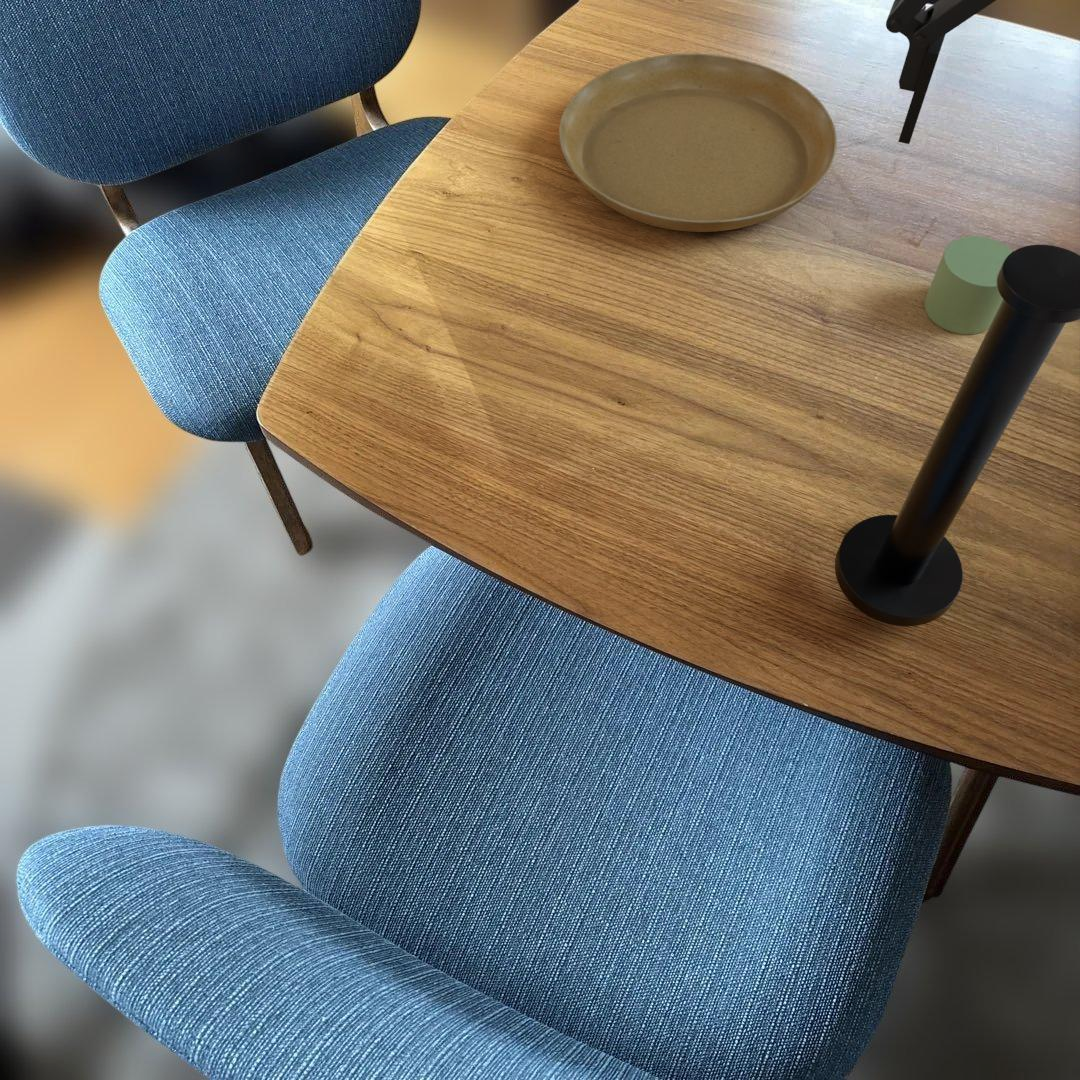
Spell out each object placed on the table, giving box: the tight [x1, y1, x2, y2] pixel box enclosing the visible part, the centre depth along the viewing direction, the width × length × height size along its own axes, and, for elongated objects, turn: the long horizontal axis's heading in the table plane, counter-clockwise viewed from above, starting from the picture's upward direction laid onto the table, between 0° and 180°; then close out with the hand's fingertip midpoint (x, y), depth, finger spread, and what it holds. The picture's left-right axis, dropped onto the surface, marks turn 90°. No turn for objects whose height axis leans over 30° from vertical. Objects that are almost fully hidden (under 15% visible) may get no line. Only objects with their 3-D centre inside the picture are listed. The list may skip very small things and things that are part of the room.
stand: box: [834, 244, 1080, 627], centre depth 58 cm, size 8×8×26 cm
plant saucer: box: [558, 52, 838, 233], centre depth 91 cm, size 24×24×3 cm
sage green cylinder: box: [924, 235, 1014, 335], centre depth 80 cm, size 6×6×5 cm
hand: (1008, 154), depth 70 cm, fingers open, 13 cm apart
